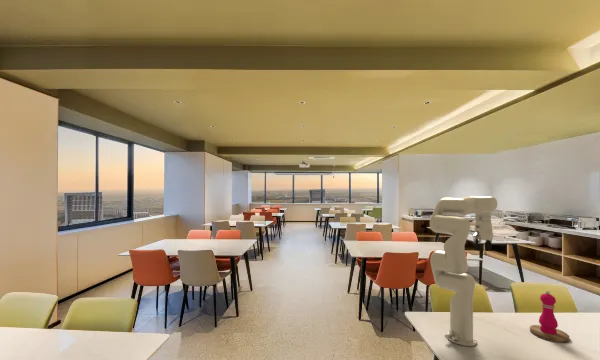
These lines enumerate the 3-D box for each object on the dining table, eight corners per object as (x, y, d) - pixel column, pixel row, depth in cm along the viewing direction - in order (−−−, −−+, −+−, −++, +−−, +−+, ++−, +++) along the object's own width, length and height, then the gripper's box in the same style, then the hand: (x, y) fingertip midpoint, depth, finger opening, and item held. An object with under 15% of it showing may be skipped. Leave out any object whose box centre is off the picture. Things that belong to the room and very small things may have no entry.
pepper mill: (561, 336, 143) (561, 293, 144) (544, 334, 144) (544, 292, 145) (551, 329, 150) (551, 289, 151) (535, 327, 151) (535, 288, 152)
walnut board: (561, 345, 137) (561, 342, 137) (523, 331, 150) (523, 328, 150) (575, 338, 144) (575, 335, 144) (538, 325, 157) (538, 322, 157)
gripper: (480, 220, 158) (480, 252, 157) (498, 218, 166) (499, 249, 165) (466, 218, 164) (467, 249, 164) (485, 217, 173) (485, 247, 172)
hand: (483, 249), depth 165 cm, fingers open, 9 cm apart
